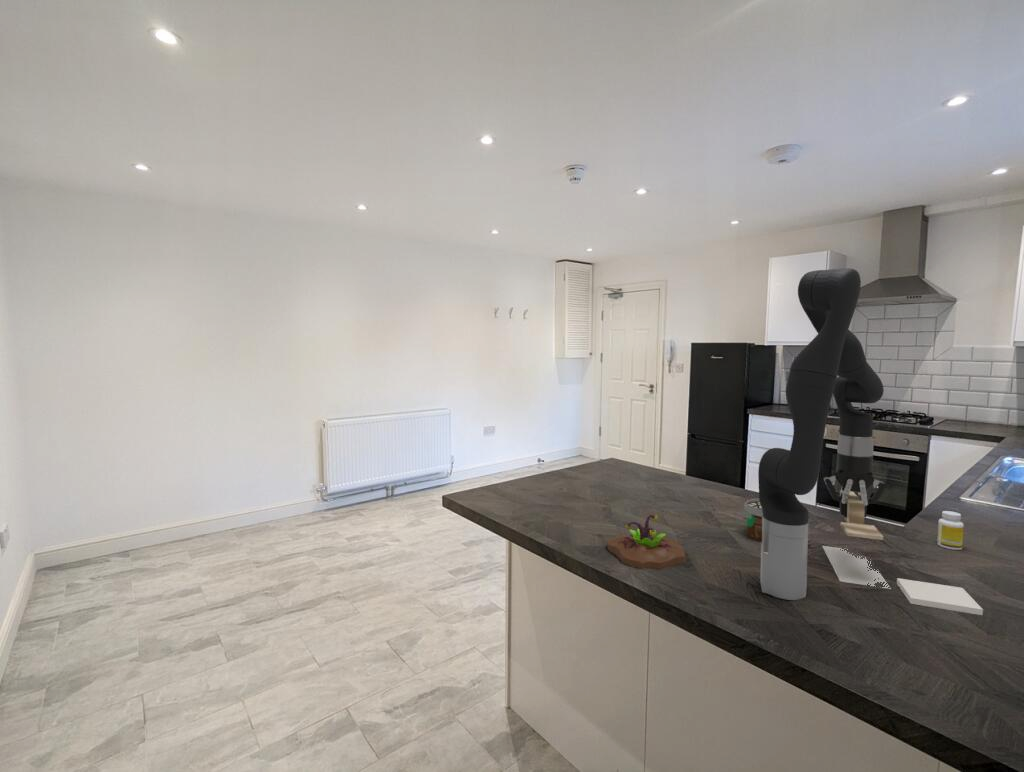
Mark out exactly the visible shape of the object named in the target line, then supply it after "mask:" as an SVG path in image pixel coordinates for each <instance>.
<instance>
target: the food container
mask: <svg viewBox="0 0 1024 772" xmlns="http://www.w3.org/2000/svg"><path fill="white" fill-rule="evenodd" d="M743 511H745V513H746V514H745V515H746V529H747V530H746V531H747V532H746V533H747V536H748V538H750V537H751V538H750V539H752V540H754V539H755V541H758V542H760V541H762V525H763V510H762V507H761V505H760V501H759V498H752V499H751V498H750V499H748V500H746V501H745V503H744V505H743Z"/></svg>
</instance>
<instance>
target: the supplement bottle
mask: <svg viewBox="0 0 1024 772" xmlns="http://www.w3.org/2000/svg"><path fill="white" fill-rule="evenodd" d="M941 517H942V518H939V519H938V523H937V524H938V525H937V537H936V539H937V541H936V543H937V545H938V546H939V547H941V548H945V549H948V550H953V551H956V550H957V551H960V550H963V545H964V528H965V525H964V523H963V522H962V521H961V520H962V514H961V513H959V512H956V511H950V510H943V511H942V513H941Z"/></svg>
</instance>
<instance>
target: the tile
mask: <svg viewBox="0 0 1024 772" xmlns="http://www.w3.org/2000/svg"><path fill="white" fill-rule="evenodd" d="M896 585H897V586H898V587H900V588H899V589H900V590H901V592H902V593H903V594H904V596H905V598H906V599H907V600H908V602H909V603H910V604H912V605H918V606H922V607H923V606H924V607H930V608H936V609H942V610H947V611H953V612H958V613H965V614H973V615H978V616H984V615H983V614H984V609H983V608H982V606H980V605H979V604H978V603H977V601H975V599H974V598H973V597H972V596H971V595H970V594H969V593H968V592H967V591H966V590H965V589H964V588H963V587H961V586H960V587H959V586H953V585H947V584H945V585H944V584H940V583H939V584H938V583H933V582H925V581H921V580H920V581H919V580H911V579H905V578H900V577H899V578H896Z"/></svg>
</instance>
